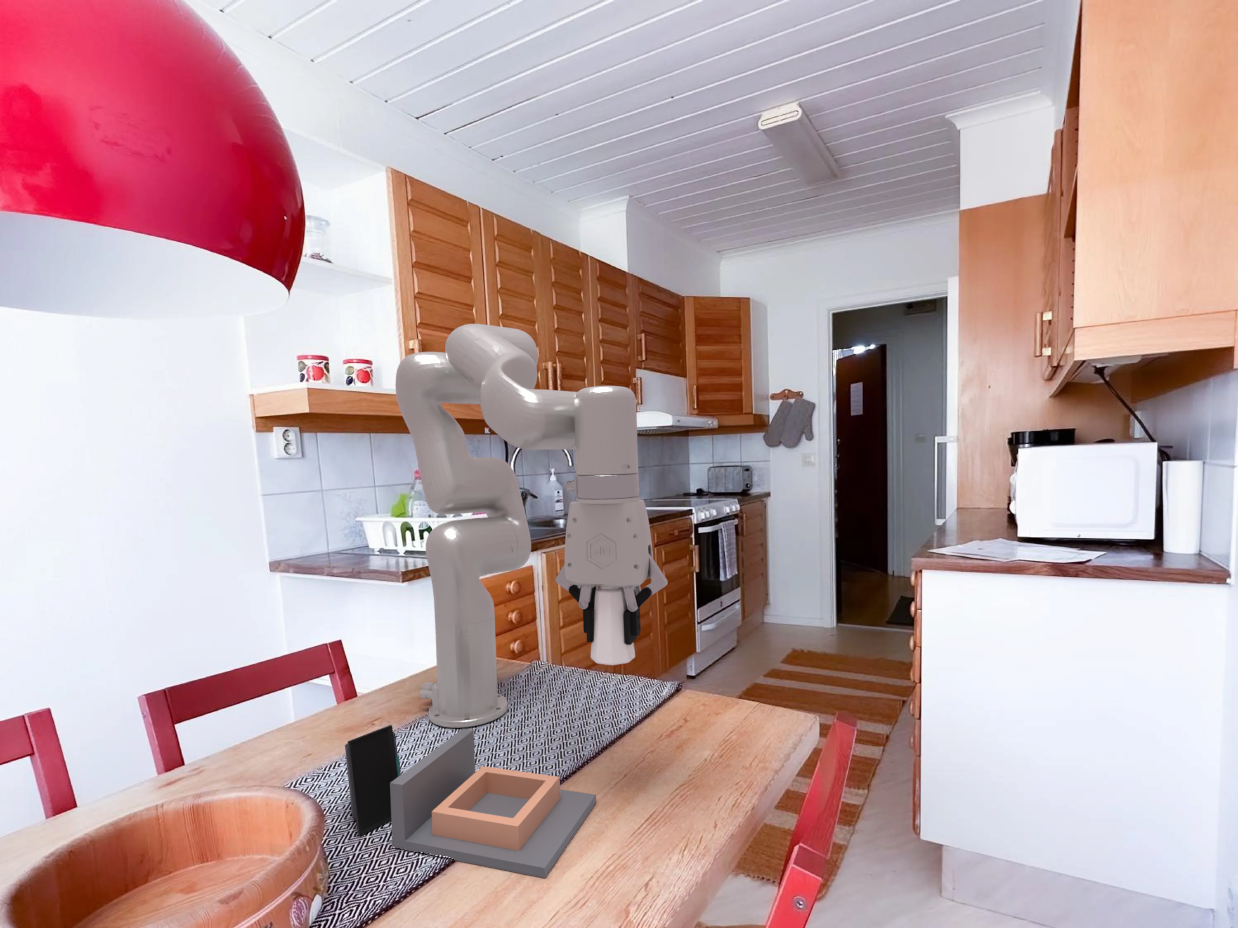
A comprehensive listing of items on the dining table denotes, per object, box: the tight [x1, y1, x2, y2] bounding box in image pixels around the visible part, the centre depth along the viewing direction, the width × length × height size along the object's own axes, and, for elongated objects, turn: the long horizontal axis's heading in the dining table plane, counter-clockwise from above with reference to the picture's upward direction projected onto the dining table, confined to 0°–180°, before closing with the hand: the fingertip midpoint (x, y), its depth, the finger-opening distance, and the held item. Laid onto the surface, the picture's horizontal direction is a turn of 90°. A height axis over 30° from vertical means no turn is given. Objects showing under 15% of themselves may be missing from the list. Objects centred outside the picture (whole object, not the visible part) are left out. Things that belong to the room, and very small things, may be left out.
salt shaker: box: [590, 586, 636, 666], centre depth 77 cm, size 5×5×11 cm
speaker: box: [344, 724, 402, 837], centre depth 75 cm, size 8×6×10 cm
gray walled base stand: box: [390, 728, 597, 879], centre depth 71 cm, size 18×14×7 cm
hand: (612, 638), depth 77 cm, fingers closed on salt shaker, 4 cm apart
